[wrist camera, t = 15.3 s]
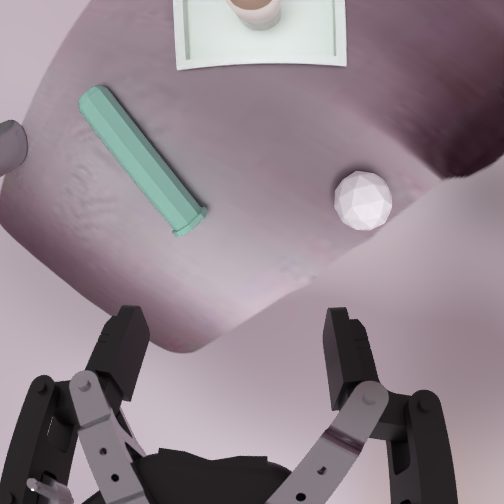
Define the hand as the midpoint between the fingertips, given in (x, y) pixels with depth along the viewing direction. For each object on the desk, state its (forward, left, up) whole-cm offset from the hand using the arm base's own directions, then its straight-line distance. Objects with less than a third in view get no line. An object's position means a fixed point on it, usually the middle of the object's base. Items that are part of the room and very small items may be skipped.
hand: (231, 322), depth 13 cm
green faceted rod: (-17, 0, -31) cm, 36 cm away
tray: (0, +17, -31) cm, 35 cm away
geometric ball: (+13, -7, -31) cm, 34 cm away
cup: (0, +17, -30) cm, 35 cm away
